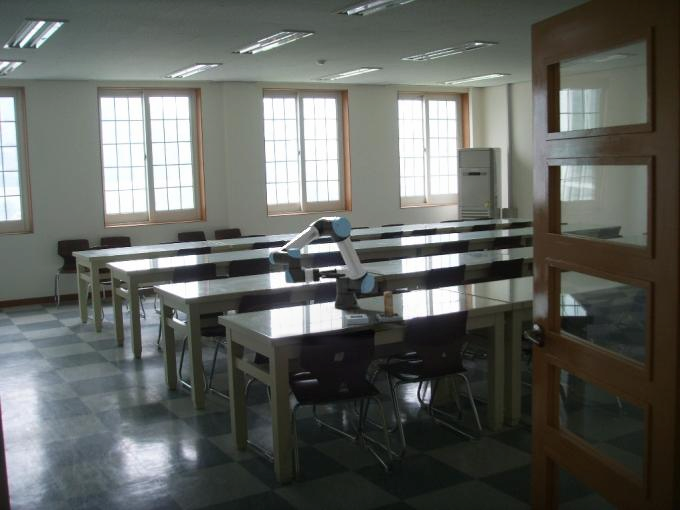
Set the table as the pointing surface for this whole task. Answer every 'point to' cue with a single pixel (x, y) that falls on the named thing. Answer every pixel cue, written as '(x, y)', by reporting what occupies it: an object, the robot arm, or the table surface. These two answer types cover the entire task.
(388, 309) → the dowel
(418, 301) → the table surface
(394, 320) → the tray
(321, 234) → the robot arm
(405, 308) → the table surface
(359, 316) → the socket block
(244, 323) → the table surface
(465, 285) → the table surface
